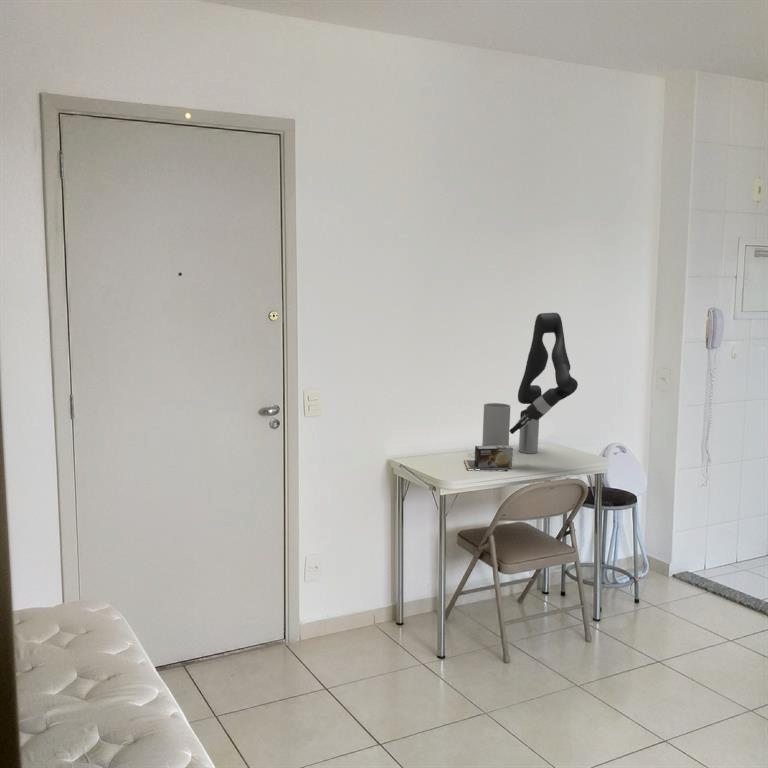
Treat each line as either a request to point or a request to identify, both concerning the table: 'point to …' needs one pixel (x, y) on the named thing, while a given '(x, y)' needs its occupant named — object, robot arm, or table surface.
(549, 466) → the table surface
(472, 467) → the mat
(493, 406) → the cylinder vase
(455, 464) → the table surface
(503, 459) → the coffee box
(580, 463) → the table surface
